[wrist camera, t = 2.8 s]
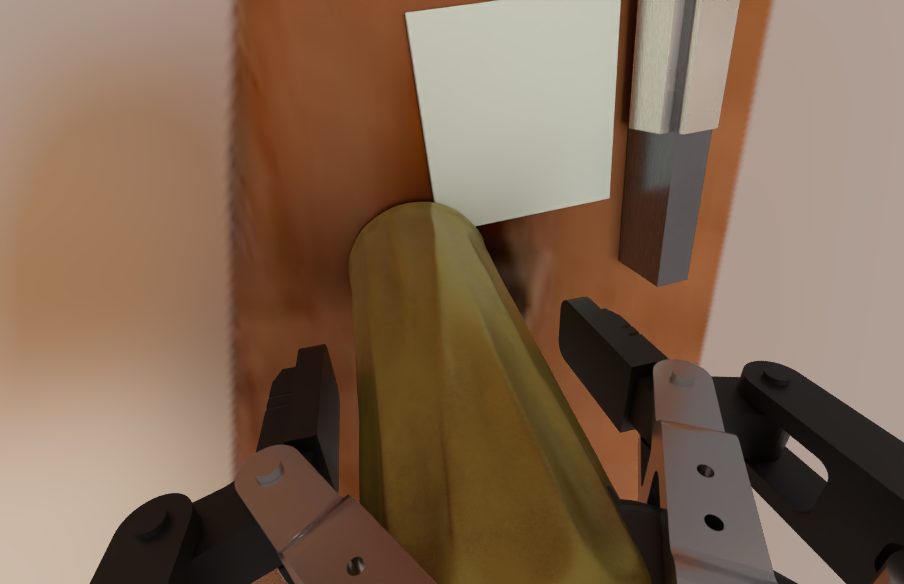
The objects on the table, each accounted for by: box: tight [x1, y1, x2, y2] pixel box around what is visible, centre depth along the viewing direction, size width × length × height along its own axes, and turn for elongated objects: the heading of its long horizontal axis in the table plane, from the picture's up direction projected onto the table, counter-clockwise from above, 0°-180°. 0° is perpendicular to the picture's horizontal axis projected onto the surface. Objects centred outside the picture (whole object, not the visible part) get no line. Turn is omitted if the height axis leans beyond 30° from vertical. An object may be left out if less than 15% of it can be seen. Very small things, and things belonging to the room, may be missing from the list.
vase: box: [349, 202, 652, 584], centre depth 12 cm, size 6×6×14 cm
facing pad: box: [405, 0, 621, 226], centre depth 17 cm, size 8×8×1 cm
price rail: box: [619, 0, 740, 287], centre depth 16 cm, size 14×2×3 cm, turn 7°
